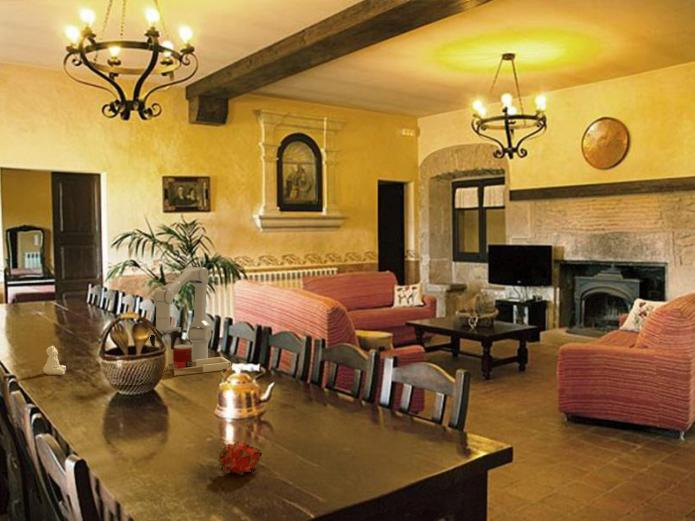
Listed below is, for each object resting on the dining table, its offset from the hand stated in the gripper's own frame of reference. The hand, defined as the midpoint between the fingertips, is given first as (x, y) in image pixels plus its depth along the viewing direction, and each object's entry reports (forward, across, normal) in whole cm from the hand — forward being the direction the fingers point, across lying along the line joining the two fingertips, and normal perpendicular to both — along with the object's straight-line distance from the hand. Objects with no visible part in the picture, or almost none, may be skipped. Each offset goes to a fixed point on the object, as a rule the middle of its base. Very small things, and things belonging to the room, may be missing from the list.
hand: (162, 349), depth 254 cm
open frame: (+10, +22, +1) cm, 24 cm away
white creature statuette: (+11, -40, +26) cm, 49 cm away
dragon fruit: (+14, -5, -114) cm, 115 cm away
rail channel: (+10, +10, +2) cm, 14 cm away
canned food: (+10, +9, +2) cm, 14 cm away
